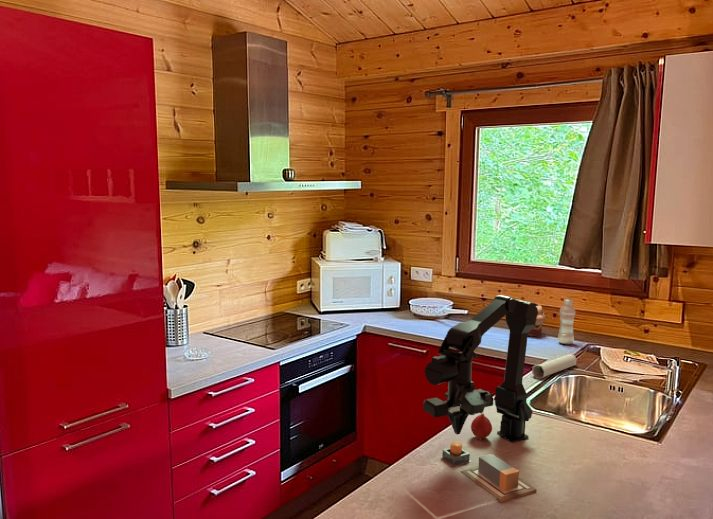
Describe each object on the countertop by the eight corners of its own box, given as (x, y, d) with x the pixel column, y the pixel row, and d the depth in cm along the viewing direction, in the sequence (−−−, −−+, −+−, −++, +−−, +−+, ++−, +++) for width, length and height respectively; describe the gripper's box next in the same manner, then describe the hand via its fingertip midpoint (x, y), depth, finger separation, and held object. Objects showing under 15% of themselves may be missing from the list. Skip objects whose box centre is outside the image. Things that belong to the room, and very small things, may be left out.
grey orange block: (490, 468, 157) (491, 453, 156) (518, 487, 148) (519, 471, 147) (478, 472, 155) (478, 456, 154) (504, 491, 146) (505, 474, 145)
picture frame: (494, 464, 161) (494, 461, 160) (536, 491, 148) (536, 488, 147) (460, 473, 155) (460, 470, 155) (500, 502, 142) (500, 499, 142)
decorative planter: (502, 328, 295) (504, 300, 292) (522, 326, 300) (524, 298, 298) (531, 339, 277) (533, 309, 275) (552, 337, 282) (554, 307, 280)
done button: (457, 449, 164) (457, 441, 163) (464, 454, 161) (464, 446, 161) (447, 452, 162) (448, 443, 162) (454, 457, 160) (455, 448, 159)
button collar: (457, 453, 166) (458, 444, 166) (471, 463, 161) (472, 454, 160) (439, 458, 163) (439, 449, 163) (453, 468, 158) (453, 458, 158)
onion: (466, 437, 176) (467, 410, 175) (483, 434, 178) (484, 407, 177) (477, 445, 171) (479, 418, 170) (495, 442, 173) (496, 415, 172)
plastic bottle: (575, 346, 268) (579, 301, 265) (559, 345, 269) (563, 300, 265) (570, 341, 275) (574, 297, 272) (555, 341, 275) (558, 297, 272)
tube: (565, 353, 245) (530, 365, 229) (577, 352, 241) (542, 364, 225) (568, 366, 245) (533, 379, 228) (580, 365, 241) (546, 378, 224)
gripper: (449, 392, 147) (446, 454, 150) (509, 381, 156) (505, 439, 158) (422, 377, 157) (420, 435, 159) (481, 367, 166) (478, 422, 168)
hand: (457, 433), depth 161 cm, fingers closed
